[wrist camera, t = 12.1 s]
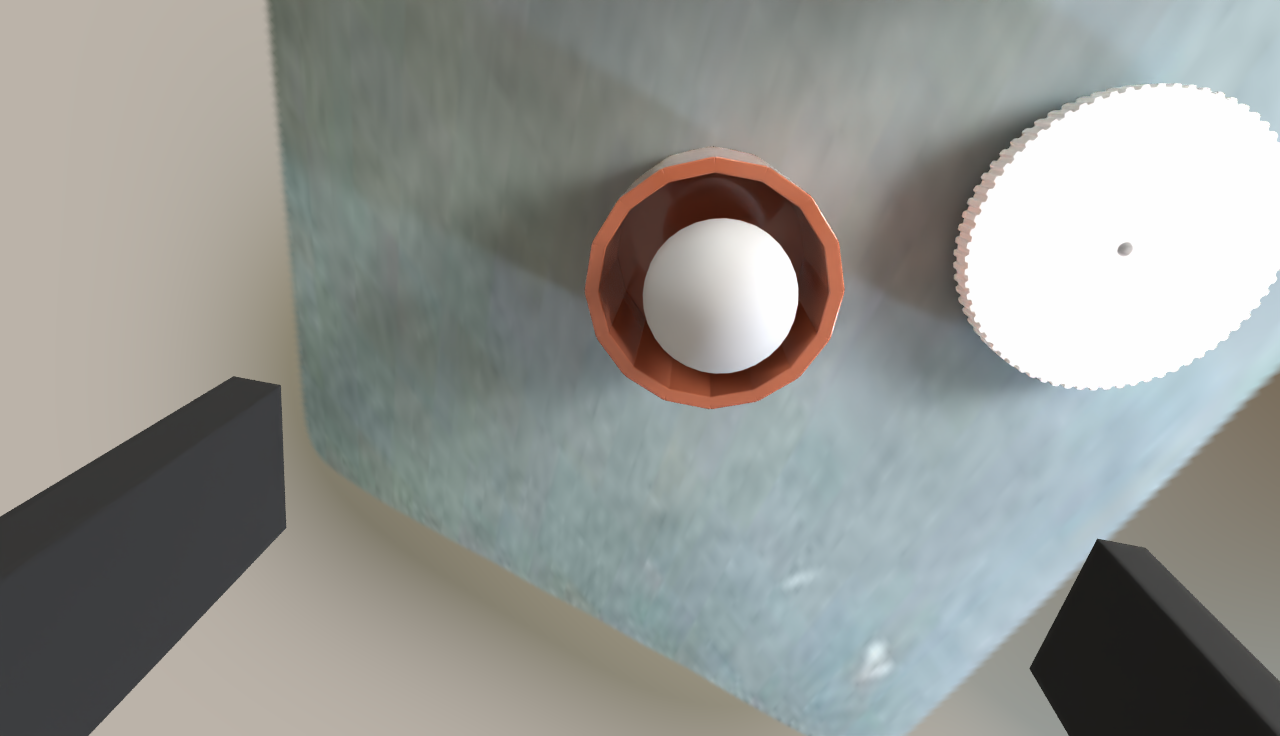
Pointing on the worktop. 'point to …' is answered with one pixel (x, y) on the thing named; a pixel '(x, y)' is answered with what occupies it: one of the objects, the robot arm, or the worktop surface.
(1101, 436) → the worktop surface
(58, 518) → the robot arm
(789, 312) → the lightbulb
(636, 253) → the holder
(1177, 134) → the plastic lid
